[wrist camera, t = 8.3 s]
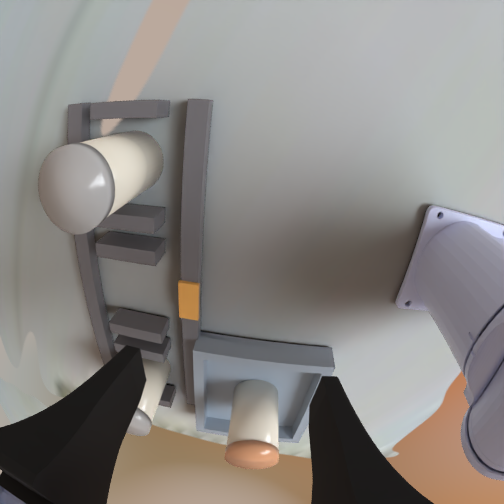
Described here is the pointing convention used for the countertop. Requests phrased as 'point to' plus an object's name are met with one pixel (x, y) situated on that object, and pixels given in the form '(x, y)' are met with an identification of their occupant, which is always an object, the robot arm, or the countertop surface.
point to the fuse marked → (253, 426)
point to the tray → (256, 368)
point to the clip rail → (148, 241)
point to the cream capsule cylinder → (97, 178)
